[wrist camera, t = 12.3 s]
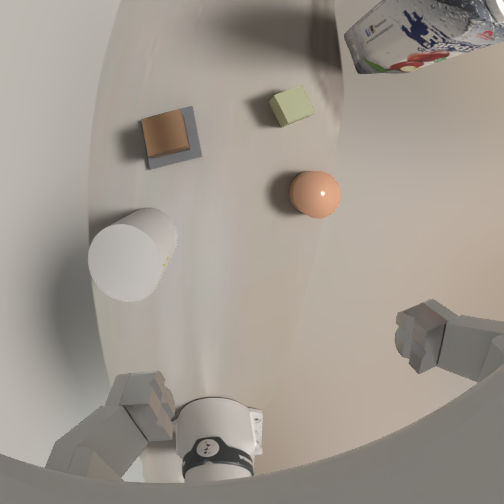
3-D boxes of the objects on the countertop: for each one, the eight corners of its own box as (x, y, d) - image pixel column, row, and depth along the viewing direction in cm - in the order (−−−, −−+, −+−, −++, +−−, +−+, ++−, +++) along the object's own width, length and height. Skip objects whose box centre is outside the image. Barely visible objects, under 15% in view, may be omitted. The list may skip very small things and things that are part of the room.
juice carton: (334, 31, 32) (440, -60, 6) (387, 33, 32) (498, -26, 6) (352, 79, 34) (489, 16, 9) (404, 78, 35) (533, 42, 9)
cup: (137, 273, 39) (111, 311, 27) (113, 222, 36) (75, 244, 25) (187, 252, 39) (175, 285, 27) (163, 198, 36) (140, 210, 25)
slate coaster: (202, 156, 35) (201, 156, 35) (151, 169, 35) (150, 169, 34) (192, 107, 33) (192, 106, 32) (142, 120, 33) (140, 119, 32)
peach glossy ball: (332, 209, 40) (343, 214, 36) (292, 217, 39) (300, 222, 35) (326, 168, 38) (337, 168, 34) (285, 174, 37) (293, 175, 34)
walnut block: (184, 117, 33) (179, 109, 28) (190, 149, 34) (186, 146, 29) (151, 125, 33) (141, 119, 28) (157, 157, 34) (148, 156, 29)
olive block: (306, 117, 35) (316, 112, 32) (281, 127, 36) (288, 123, 32) (294, 92, 34) (302, 85, 30) (268, 102, 34) (274, 95, 31)
